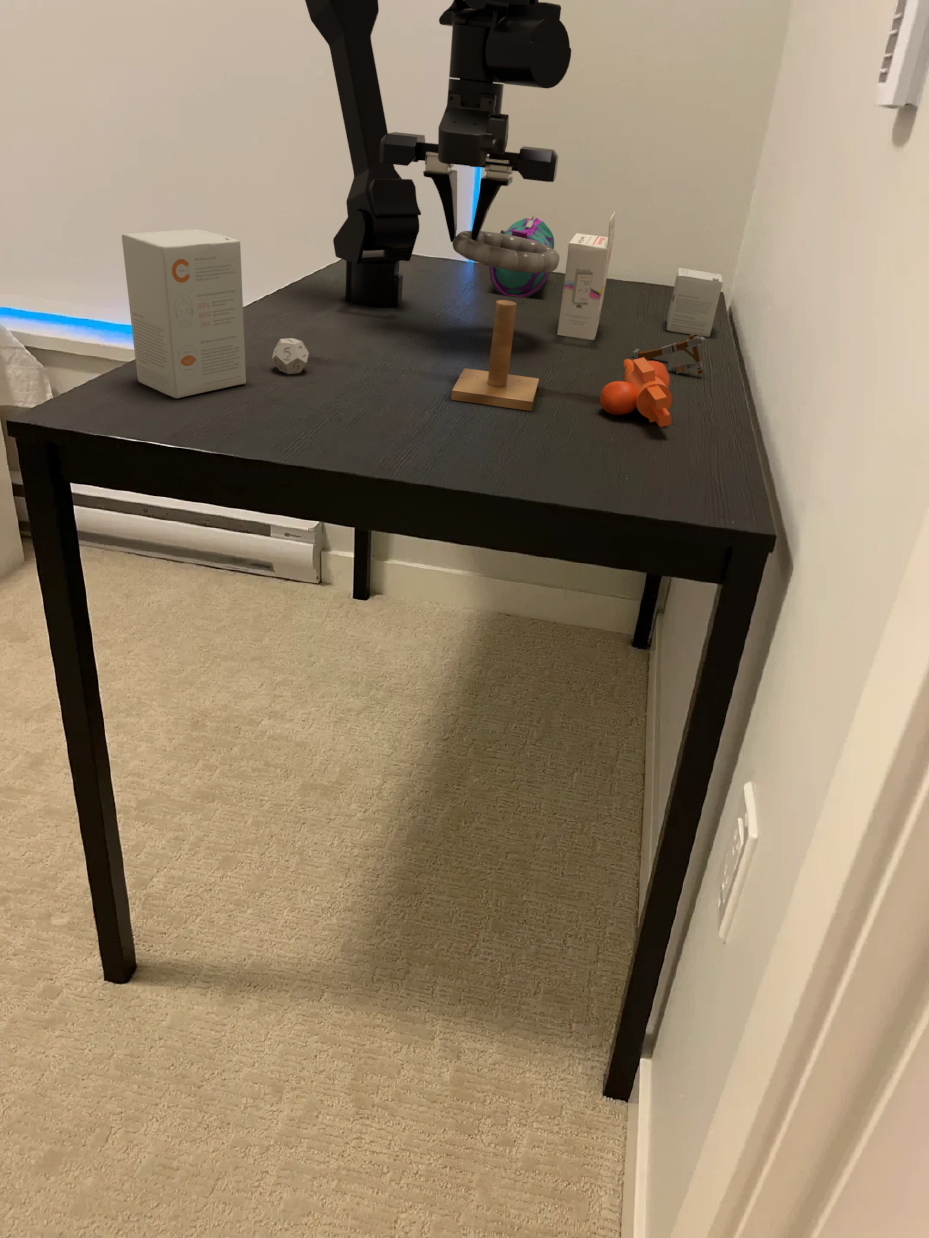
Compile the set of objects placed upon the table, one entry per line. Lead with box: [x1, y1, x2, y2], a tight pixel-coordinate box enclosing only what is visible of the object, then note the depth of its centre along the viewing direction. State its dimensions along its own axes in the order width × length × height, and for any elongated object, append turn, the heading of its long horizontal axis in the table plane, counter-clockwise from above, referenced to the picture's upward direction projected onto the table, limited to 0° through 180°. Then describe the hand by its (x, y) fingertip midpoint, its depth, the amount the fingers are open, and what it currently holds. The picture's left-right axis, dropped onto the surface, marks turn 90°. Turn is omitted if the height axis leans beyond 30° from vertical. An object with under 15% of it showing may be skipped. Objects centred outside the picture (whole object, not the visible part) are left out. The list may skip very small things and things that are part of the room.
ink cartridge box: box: [556, 211, 616, 341], centre depth 109 cm, size 9×5×15 cm, turn 168°
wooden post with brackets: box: [633, 334, 706, 375], centre depth 103 cm, size 2×8×4 cm, turn 69°
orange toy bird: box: [599, 357, 673, 428], centre depth 87 cm, size 5×8×12 cm
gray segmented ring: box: [451, 230, 561, 273], centre depth 99 cm, size 12×12×2 cm
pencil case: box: [488, 215, 555, 299], centre depth 133 cm, size 21×9×10 cm, turn 174°
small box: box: [121, 228, 247, 399], centre depth 81 cm, size 8×6×13 cm
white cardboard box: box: [665, 267, 724, 338], centre depth 121 cm, size 6×6×7 cm
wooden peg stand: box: [450, 299, 540, 412], centre depth 88 cm, size 8×8×9 cm
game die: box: [271, 337, 310, 375], centre depth 89 cm, size 4×4×3 cm
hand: (462, 243), depth 100 cm, fingers closed on gray segmented ring, 2 cm apart
